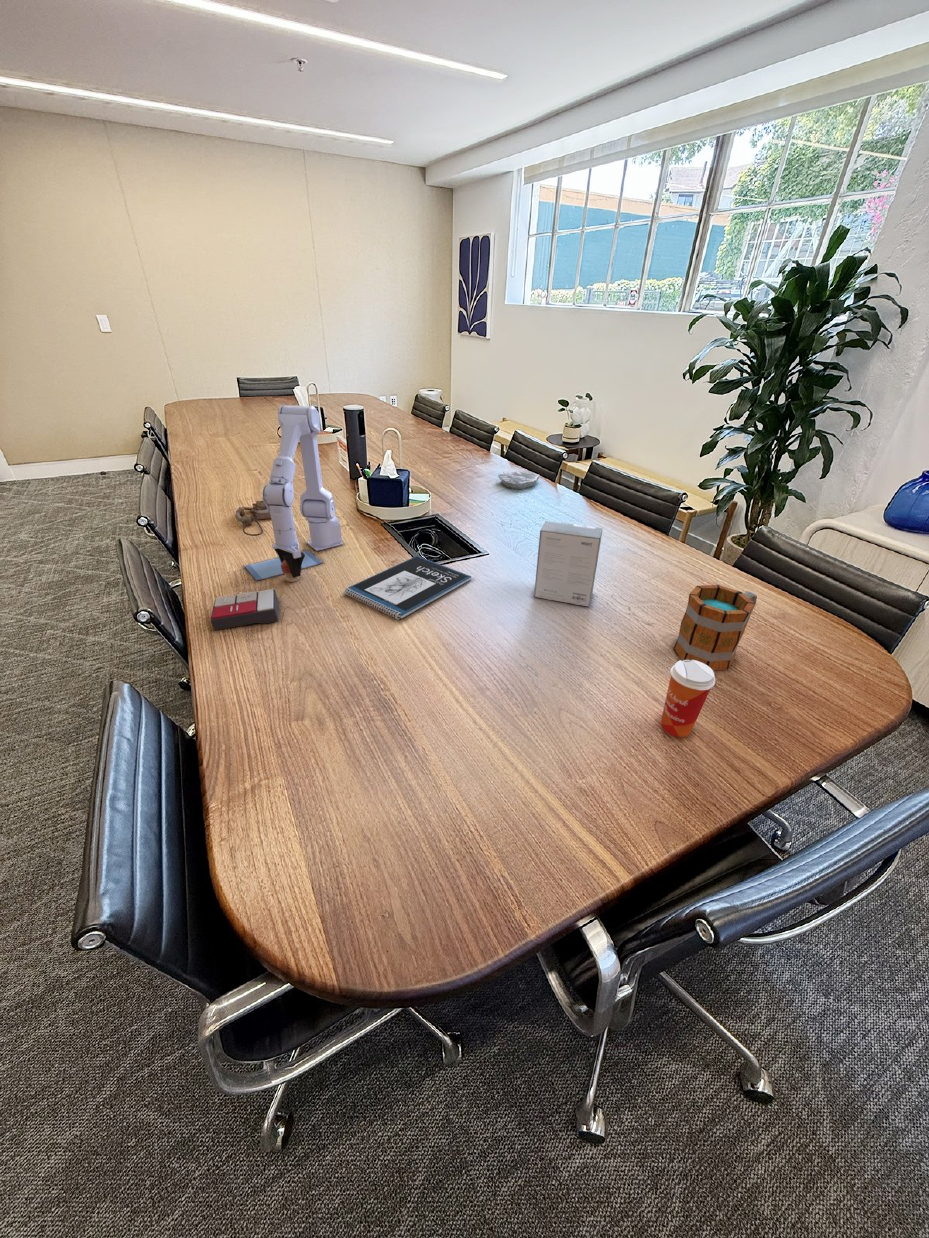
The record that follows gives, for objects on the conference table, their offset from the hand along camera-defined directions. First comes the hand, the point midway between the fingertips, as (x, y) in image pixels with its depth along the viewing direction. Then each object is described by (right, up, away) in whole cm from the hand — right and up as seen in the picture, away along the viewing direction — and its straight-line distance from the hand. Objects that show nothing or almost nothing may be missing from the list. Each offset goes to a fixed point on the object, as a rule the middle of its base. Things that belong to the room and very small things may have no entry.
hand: (292, 571), depth 147 cm
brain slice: (+73, +47, +81) cm, 119 cm away
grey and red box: (-6, -13, -16) cm, 21 cm away
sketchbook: (+34, -5, -2) cm, 34 cm away
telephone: (-25, +22, +39) cm, 51 cm away
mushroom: (0, -2, +1) cm, 2 cm away
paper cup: (+91, -35, -47) cm, 108 cm away
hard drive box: (+77, -7, -4) cm, 78 cm away
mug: (+109, -21, -25) cm, 113 cm away
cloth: (-5, +3, +8) cm, 10 cm away
